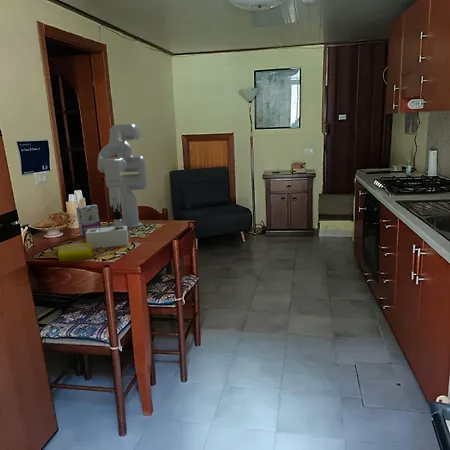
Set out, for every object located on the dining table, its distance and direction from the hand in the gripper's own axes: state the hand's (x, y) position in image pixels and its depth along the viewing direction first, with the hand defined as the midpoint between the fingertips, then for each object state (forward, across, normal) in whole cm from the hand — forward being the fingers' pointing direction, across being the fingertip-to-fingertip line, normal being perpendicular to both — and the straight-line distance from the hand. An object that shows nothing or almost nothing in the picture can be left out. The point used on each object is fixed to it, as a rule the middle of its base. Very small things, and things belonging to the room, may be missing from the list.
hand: (117, 219), depth 212 cm
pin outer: (+11, 0, -12) cm, 16 cm away
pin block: (+13, 0, -6) cm, 14 cm away
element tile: (+14, +15, -20) cm, 28 cm away
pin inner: (+6, 0, 0) cm, 6 cm away
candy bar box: (+13, -28, -18) cm, 36 cm away
